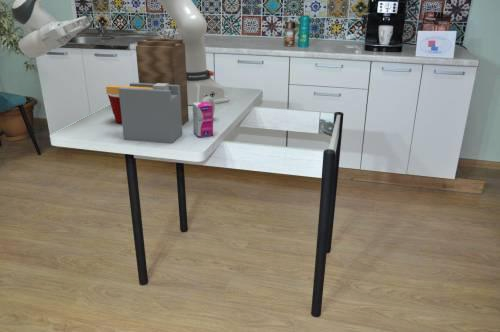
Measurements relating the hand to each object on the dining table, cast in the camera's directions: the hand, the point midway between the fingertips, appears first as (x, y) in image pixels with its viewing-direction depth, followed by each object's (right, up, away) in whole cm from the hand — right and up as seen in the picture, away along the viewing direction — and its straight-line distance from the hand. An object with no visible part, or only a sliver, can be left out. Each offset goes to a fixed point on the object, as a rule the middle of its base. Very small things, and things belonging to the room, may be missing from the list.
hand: (84, 20), depth 170 cm
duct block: (+25, -41, 0) cm, 48 cm away
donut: (+42, -34, +18) cm, 57 cm away
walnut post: (+26, -35, +15) cm, 47 cm away
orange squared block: (+20, -27, -5) cm, 34 cm away
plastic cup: (+9, -35, +17) cm, 40 cm away
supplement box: (+42, -41, +2) cm, 59 cm away
